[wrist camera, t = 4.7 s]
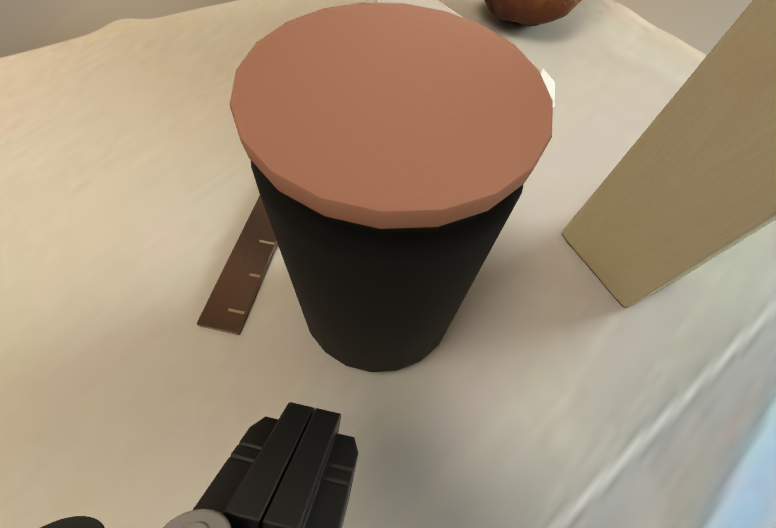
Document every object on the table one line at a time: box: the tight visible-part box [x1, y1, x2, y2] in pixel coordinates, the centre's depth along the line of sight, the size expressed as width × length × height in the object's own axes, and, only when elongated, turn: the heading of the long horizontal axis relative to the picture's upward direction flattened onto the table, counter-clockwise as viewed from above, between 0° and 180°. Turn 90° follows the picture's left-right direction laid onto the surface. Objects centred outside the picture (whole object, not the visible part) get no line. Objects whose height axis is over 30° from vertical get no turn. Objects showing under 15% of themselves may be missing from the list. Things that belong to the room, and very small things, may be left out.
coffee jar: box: [230, 3, 553, 372], centre depth 20 cm, size 11×11×18 cm
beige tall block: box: [562, 0, 776, 308], centre depth 22 cm, size 8×7×21 cm
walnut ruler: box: [197, 196, 278, 335], centre depth 30 cm, size 15×3×1 cm, turn 168°
